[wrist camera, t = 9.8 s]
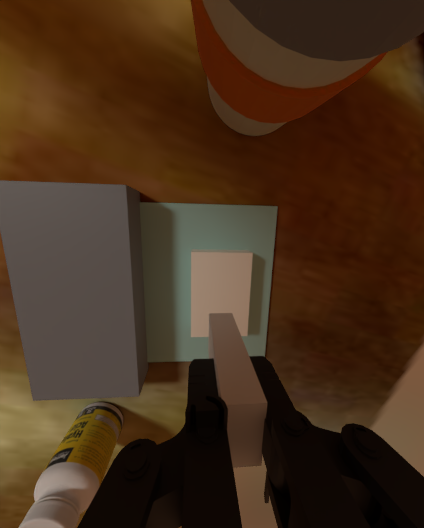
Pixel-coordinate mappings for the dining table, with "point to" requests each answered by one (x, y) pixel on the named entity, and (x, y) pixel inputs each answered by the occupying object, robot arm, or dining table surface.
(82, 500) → the supplement bottle
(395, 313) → the dining table surface
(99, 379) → the board
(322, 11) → the reusable coffee cup
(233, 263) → the beige rectangular block
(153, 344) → the mat
